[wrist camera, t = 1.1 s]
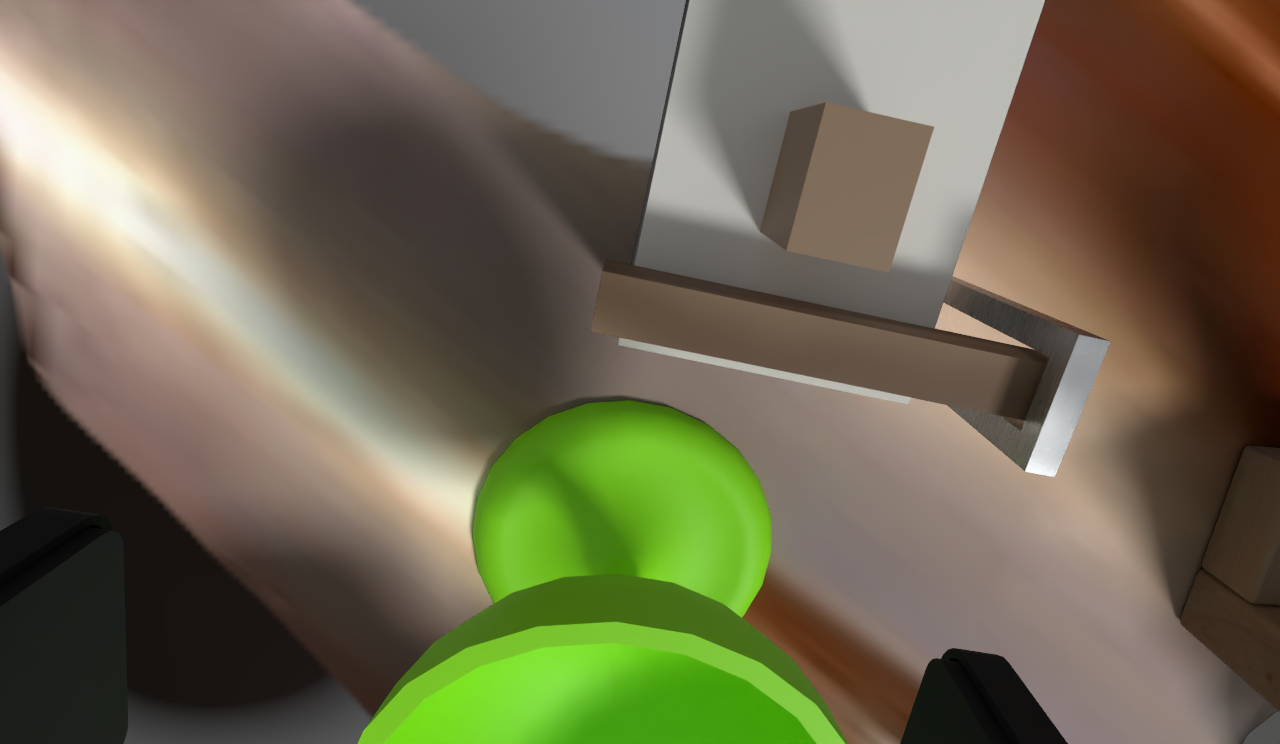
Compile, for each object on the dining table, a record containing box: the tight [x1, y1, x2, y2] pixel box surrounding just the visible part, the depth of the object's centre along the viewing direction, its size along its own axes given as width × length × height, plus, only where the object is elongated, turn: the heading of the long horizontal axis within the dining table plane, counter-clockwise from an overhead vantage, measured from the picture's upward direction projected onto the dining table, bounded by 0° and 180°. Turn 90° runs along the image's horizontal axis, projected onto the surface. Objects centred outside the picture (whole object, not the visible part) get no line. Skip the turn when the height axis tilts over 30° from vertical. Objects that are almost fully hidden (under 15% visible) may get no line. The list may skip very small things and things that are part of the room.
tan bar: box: [591, 260, 1049, 421], centre depth 25 cm, size 2×16×2 cm, turn 78°
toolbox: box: [632, 0, 1110, 477], centre depth 27 cm, size 14×14×13 cm
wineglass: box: [358, 400, 848, 744], centre depth 30 cm, size 16×16×18 cm
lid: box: [618, 0, 1045, 405], centre depth 23 cm, size 14×11×7 cm
